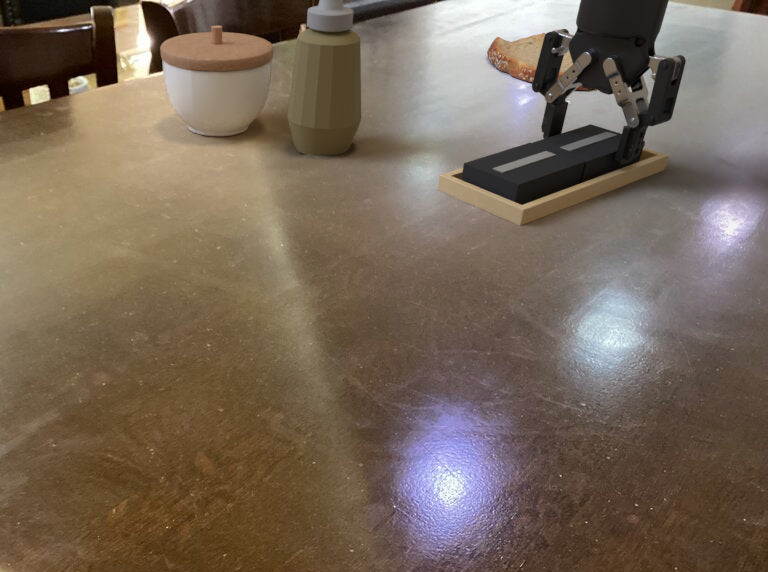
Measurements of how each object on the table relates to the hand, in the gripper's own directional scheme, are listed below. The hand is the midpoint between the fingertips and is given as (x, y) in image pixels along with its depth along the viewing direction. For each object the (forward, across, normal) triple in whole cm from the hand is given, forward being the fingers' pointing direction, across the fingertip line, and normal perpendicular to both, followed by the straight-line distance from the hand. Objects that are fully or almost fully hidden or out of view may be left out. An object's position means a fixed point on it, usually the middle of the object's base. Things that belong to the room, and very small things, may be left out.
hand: (585, 150), depth 83 cm
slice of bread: (+3, +28, -31) cm, 42 cm away
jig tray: (+3, 0, +4) cm, 5 cm away
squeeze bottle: (+3, +21, +17) cm, 27 cm away
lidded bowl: (+3, +34, +22) cm, 41 cm away
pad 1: (+2, 0, +10) cm, 10 cm away
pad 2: (+2, 0, 0) cm, 2 cm away
